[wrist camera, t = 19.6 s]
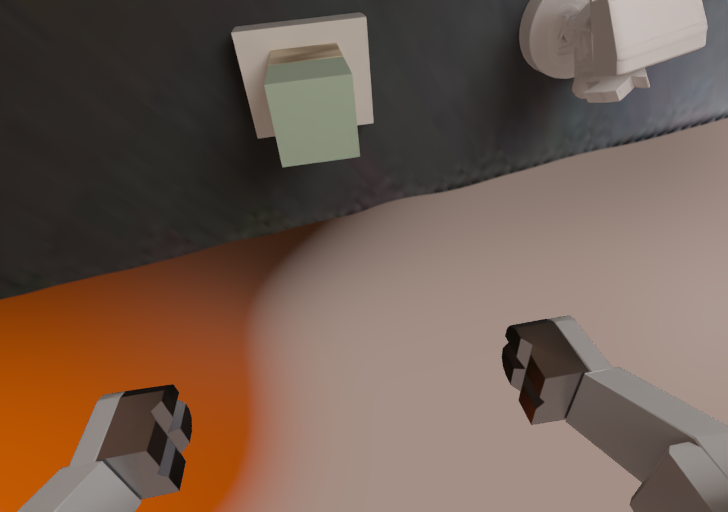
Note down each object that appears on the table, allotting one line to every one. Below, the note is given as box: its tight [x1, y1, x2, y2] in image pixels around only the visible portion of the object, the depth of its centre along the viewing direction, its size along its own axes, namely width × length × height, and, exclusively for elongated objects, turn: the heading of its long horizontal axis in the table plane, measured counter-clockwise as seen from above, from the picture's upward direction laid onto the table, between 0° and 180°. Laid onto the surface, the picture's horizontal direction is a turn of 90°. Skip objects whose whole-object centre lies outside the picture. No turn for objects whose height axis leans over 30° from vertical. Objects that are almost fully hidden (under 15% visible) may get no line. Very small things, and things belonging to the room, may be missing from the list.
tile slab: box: [231, 12, 374, 139], centre depth 33 cm, size 10×8×3 cm
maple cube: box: [268, 43, 343, 65], centre depth 30 cm, size 5×5×5 cm
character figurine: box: [519, 0, 708, 103], centre depth 30 cm, size 9×10×12 cm
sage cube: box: [264, 56, 360, 167], centre depth 26 cm, size 5×5×5 cm
